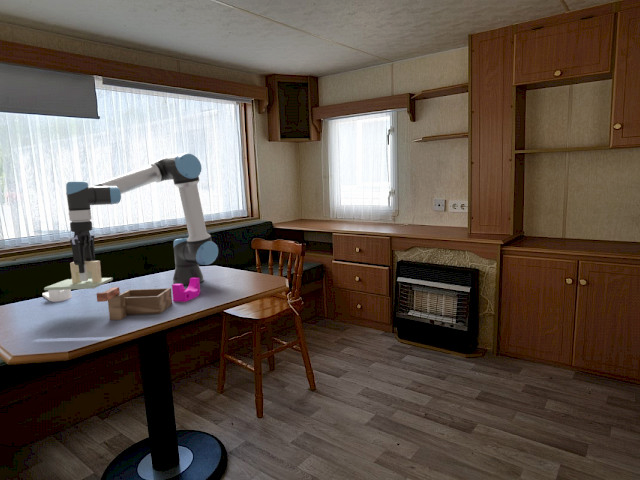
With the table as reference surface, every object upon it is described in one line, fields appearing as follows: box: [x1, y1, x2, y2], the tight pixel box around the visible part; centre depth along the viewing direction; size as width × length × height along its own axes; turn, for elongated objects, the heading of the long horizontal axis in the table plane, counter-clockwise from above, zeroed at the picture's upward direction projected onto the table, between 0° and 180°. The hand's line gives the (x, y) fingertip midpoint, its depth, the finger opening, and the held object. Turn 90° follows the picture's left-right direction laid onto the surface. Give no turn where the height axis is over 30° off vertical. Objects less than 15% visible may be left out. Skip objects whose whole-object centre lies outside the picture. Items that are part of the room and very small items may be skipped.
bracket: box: [42, 289, 72, 302], centre depth 199 cm, size 20×9×7 cm, turn 45°
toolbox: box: [107, 287, 173, 321], centre depth 172 cm, size 20×18×9 cm
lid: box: [43, 260, 114, 291], centre depth 169 cm, size 15×19×9 cm
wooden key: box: [96, 286, 120, 303], centre depth 158 cm, size 11×3×3 cm, turn 0°
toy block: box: [171, 278, 201, 303], centre depth 192 cm, size 15×6×8 cm, turn 161°
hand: (87, 279), depth 169 cm, fingers closed on lid, 3 cm apart
